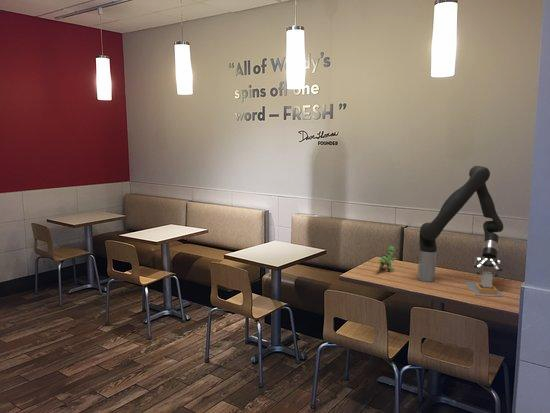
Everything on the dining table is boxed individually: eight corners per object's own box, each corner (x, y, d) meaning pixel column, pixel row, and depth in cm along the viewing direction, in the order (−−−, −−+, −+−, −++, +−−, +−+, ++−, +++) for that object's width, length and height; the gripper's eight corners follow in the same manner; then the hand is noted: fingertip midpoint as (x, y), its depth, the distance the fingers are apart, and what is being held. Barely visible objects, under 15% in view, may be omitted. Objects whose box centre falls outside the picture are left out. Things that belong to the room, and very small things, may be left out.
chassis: (475, 295, 259) (475, 289, 259) (464, 283, 281) (464, 277, 280) (503, 297, 258) (503, 290, 257) (489, 284, 279) (490, 278, 279)
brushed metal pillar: (482, 292, 262) (483, 273, 261) (480, 289, 267) (481, 271, 265) (491, 292, 262) (492, 274, 260) (488, 290, 266) (490, 272, 265)
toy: (395, 267, 314) (396, 244, 311) (398, 276, 293) (399, 252, 291) (376, 266, 315) (377, 243, 313) (378, 275, 294) (379, 251, 292)
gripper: (476, 245, 274) (472, 269, 265) (504, 248, 268) (501, 273, 259) (476, 252, 279) (472, 277, 271) (504, 255, 273) (501, 280, 265)
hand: (487, 275), depth 265 cm, fingers open, 8 cm apart
